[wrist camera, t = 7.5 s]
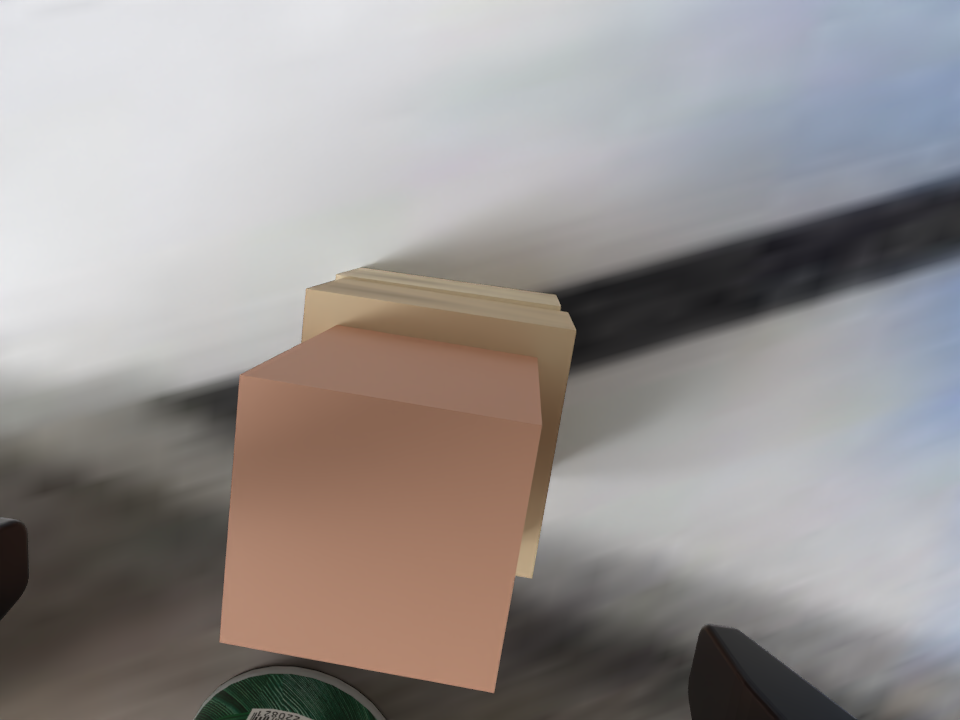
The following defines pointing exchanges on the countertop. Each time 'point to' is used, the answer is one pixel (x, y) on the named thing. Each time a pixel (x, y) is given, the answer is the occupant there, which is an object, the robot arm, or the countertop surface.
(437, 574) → the terracotta block
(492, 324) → the tower top
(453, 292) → the tower base
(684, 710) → the countertop surface
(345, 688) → the canned tomato
